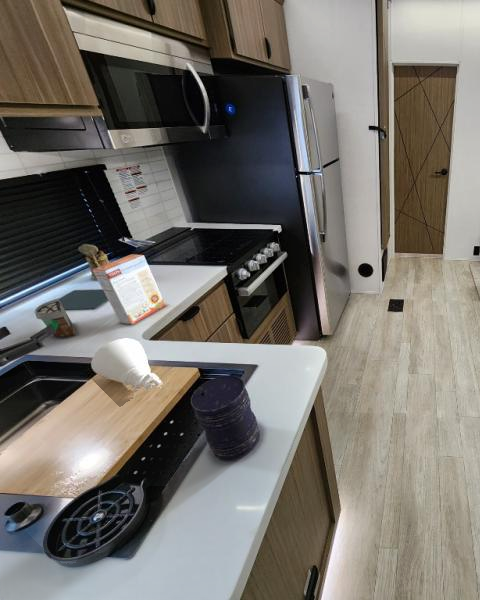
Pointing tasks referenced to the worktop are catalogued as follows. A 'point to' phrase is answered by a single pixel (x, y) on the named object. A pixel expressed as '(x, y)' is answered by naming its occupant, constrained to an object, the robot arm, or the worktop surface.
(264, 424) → the worktop surface
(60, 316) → the food container
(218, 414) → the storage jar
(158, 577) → the worktop surface
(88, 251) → the tan yellow lumpy piece
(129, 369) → the rocket engine
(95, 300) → the side mat
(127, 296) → the cracker box
